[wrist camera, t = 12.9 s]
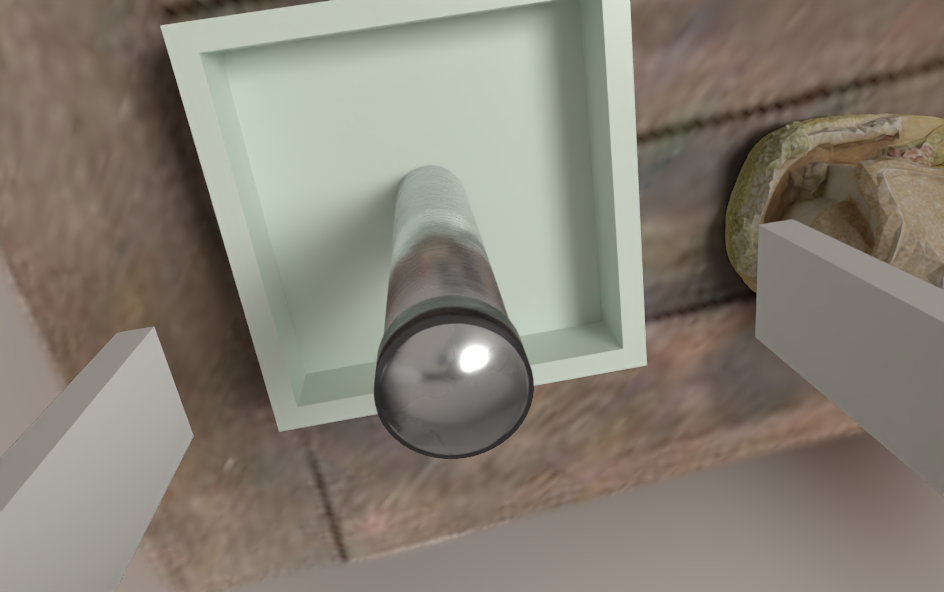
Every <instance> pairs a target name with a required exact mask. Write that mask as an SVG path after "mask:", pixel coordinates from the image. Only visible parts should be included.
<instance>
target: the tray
mask: <svg viewBox="0 0 944 592" xmlns="http://www.w3.org/2000/svg"><path fill="white" fill-rule="evenodd" d="M160 27H161V30H162V33H163V37H164V40H165V44H166V47H167V50H168V54H169V57H170V61H171V64H172V68H173V71H174V74H175V78H176V81H177V85H178V88H179V91H180V95H181V98H182V102H183V105H184V108H185V112H186V115H187V119H188V122H189V126H190V129H191V132H192V136H193V139H194V143H195V146H196V149H197V153H198V156H199V160H200V163H201V167H202V170H203V173H204V177H205V180H206V184H207V187H208V190H209V194H210V197H211V201H212V204H213V207H214V211H215V214H216V218H217V221H218V225H219V228H220V231H221V235H222V238H223V242H224V245H225V248H226V252H227V255H228V259H229V262H230V266H231V269H232V272H233V276H234V279H235V283H236V286H237V289H238V293H239V296H240V300H241V303H242V306H243V310H244V313H245V317H246V320H247V324H248V327H249V330H250V334H251V337H252V341H253V344H254V347H255V351H256V354H257V358H258V361H259V364H260V368H261V371H262V375H263V378H264V382H265V385H266V388H267V392H268V395H269V399H270V402H271V405H272V409H273V412H274V416H275V419H276V423H277V426H278V429H279V432H280V431H286V430H291V429H297V428H302V427H308V426H313V425H319V424H324V423H330V422H335V421H341V420H346V419H352V418H358V417H363V416H369V415H374V414H378V413H377V409H376V406H375V401H374V381H375V371H376V361H377V354H378V349H379V345H380V342H381V340H382V338H383V336H384V326H385V315H386V304H387V293H388V282H389V271H390V260H391V249H392V237H393V226H394V215H395V204H396V195H397V190H398V187H399V185H400V183H401V182H402V180H403V179H404V178H405V176H406V175H408V174H409V173H410V172H411V171H413V170H415V169H417V168H419V167H423V166H429V165H433V166H440V167H443V168H446V169H448V170H450V171H451V172H453V173H454V174H455V175H456V176H457V177H458V178H459V179H460V181H461V182H462V184H463V186H464V188H465V191H466V194H467V197H468V200H469V203H470V206H471V209H472V212H473V215H474V218H475V221H476V223H477V226H478V229H479V232H480V235H481V238H482V241H483V244H484V247H485V250H486V253H487V256H488V259H489V262H490V265H491V267H492V270H493V273H494V276H495V279H496V282H497V285H498V288H499V291H500V294H501V297H502V300H503V303H504V306H505V309H506V312H507V314H508V317H509V320H510V321H511V322H512V324H513V325H514V327H515V328H516V330H517V332H518V334H519V336H520V338H521V341H522V344H523V347H524V350H525V353H526V355H527V358H528V361H529V364H530V367H531V369H532V374H533V380H534V386H535V385H540V384H546V383H551V382H557V381H562V380H568V379H573V378H579V377H585V376H590V375H596V374H601V373H607V372H612V371H618V370H623V369H629V368H634V367H640V366H645V365H647V358H646V336H645V315H644V293H643V271H642V250H641V228H640V207H639V185H638V163H637V142H636V120H635V98H634V77H633V55H632V33H631V12H630V0H331V1H325V2H318V3H311V4H304V5H297V6H291V7H284V8H277V9H270V10H263V11H256V12H250V13H243V14H236V15H229V16H222V17H215V18H209V19H202V20H195V21H188V22H181V23H174V24H168V25H161V26H160Z"/></svg>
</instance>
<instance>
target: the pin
mask: <svg viewBox="0 0 944 592" xmlns="http://www.w3.org/2000/svg"><path fill="white" fill-rule="evenodd" d="M533 391H534V380H533V374H532V369H531V367H530V364H529V361H528V358H527V355H526V353H525V350H524V347H523V344H522V341H521V338H520V336H519V334H518V332H517V330H516V328H515V327H514V325H513V324H512V322H511V321H510V320H509V317H508V314H507V312H506V309H505V306H504V303H503V300H502V297H501V294H500V291H499V288H498V285H497V282H496V279H495V276H494V273H493V270H492V267H491V265H490V262H489V259H488V256H487V253H486V250H485V247H484V244H483V241H482V238H481V235H480V232H479V229H478V226H477V223H476V221H475V218H474V215H473V212H472V209H471V206H470V203H469V200H468V197H467V194H466V191H465V188H464V186H463V184H462V182H461V181H460V179H459V178H458V177H457V176H456V175H455V174H454V173H453V172H451V171H450V170H448V169H446V168H443V167H440V166H433V165H429V166H423V167H419V168H417V169H415V170H413V171H411V172H410V173H409V174H408V175H406V176H405V178H404V179H403V180H402V182H401V183H400V185H399V187H398V190H397V195H396V204H395V215H394V226H393V237H392V249H391V260H390V271H389V282H388V293H387V304H386V315H385V326H384V336H383V338H382V340H381V342H380V345H379V349H378V354H377V361H376V371H375V381H374V401H375V406H376V409H377V413H378V415H379V417H380V419H381V421H382V423H383V425H384V426H385V428H386V429H387V430H388V432H389V433H390V434H391V435H392V436H393V437H394V438H395V439H396V440H398V441H399V442H400V443H401V444H403V445H404V446H406V447H407V448H409V449H411V450H413V451H415V452H417V453H420V454H423V455H426V456H430V457H435V458H443V459H458V458H467V457H471V456H475V455H478V454H481V453H484V452H487V451H489V450H491V449H493V448H495V447H496V446H498V445H500V444H501V443H503V442H504V441H505V440H507V439H508V438H509V437H510V436H511V435H512V434H513V433H514V432H515V431H516V430H517V429H518V428H519V426H520V425H521V424H522V422H523V421H524V419H525V417H526V415H527V413H528V411H529V409H530V406H531V402H532V398H533Z"/></svg>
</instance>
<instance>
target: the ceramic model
mask: <svg viewBox="0 0 944 592" xmlns="http://www.w3.org/2000/svg"><path fill="white" fill-rule="evenodd" d="M790 219H793V220H796V221H798V222H800V223H802V224H804V225H806V226H808V227H811V228H813V229H815V230H817V231H819V232H821V233H823V234H825V235H828V236H830V237H832V238H834V239H836V240H838V241H840V242H842V243H845V244H847V245H849V246H851V247H853V248H855V249H857V250H860V251H862V252H864V253H866V254H868V255H870V256H872V257H874V258H877V259H879V260H881V261H883V262H885V263H887V264H889V265H892V266H894V267H896V268H898V269H900V270H902V271H904V272H906V273H909V274H911V275H913V276H915V277H917V278H919V279H921V280H923V281H926V282H928V283H930V284H932V285H934V286H936V287H938V288H941V289H943V290H944V119H943V118H938V117H931V116H917V115H900V114H888V113H883V114H876V115H874V114H862V115H852V114H848V115H839V116H825V117H821V118H812V119H808V120H803V121H794V122H791V123H789V124H786V125H785V126H784V127H781V128H779V129H777V130H775V131H773V132H771V133H769V134H768V135H766V136H764V137H763V138H762V139H761V140H760V141H759V142H758V143H757V144H755V145H754V147H753V148H752V149H751V151H750V152H749V154H748V156H747V159H746V160H745V162H744V164H743V166H742V168H741V171H740V173H739V176H738V178H737V181H736V184H735V186H734V188H733V191H732V193H731V196H730V200H729V203H728V206H727V211H726V221H725V225H726V227H725V241H726V250H727V253H728V257H729V260H730V263H731V264H732V266H733V267H734V268H735V271H736V272H737V273H738V274H739V275H740V276H741V278H742V279H743V281H744V283H745V284H746V285H747V286H748V287H749V288H750V289H751V290H752V291H754V292H756V293H757V267H758V236H759V225H760V224H766V223H772V222H778V221H784V220H790Z"/></svg>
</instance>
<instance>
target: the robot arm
mask: <svg viewBox="0 0 944 592" xmlns="http://www.w3.org/2000/svg"><path fill="white" fill-rule="evenodd" d="M755 337H756V338H757V339H758V340H759V341H761V342H762V343H763V344H764V345H765V346H767V347H768V348H769V349H770V350H771V351H772V352H774V353H775V354H776V355H777V356H778V357H780V358H781V359H782V360H783V361H784V362H785V363H787V364H788V365H789V366H790V367H791V368H793V369H794V370H795V371H796V372H797V373H798V374H800V375H801V376H802V377H803V378H804V379H806V380H807V381H808V382H809V383H810V384H811V385H813V386H814V387H815V388H816V389H817V390H819V391H820V392H821V393H822V394H823V395H824V396H826V397H827V398H828V399H829V400H830V401H832V402H833V403H834V404H835V405H836V406H837V407H839V408H840V409H841V410H842V411H843V412H845V413H846V414H847V415H848V416H849V417H850V418H852V419H853V420H854V421H855V422H856V423H858V424H859V425H860V426H861V427H862V428H863V429H865V430H866V431H867V432H868V433H869V434H871V435H872V436H873V437H874V438H875V439H876V440H878V441H879V442H880V443H881V444H882V445H884V446H885V447H886V448H887V449H888V450H889V451H891V452H892V453H893V454H894V455H896V456H897V457H898V458H899V459H900V460H901V461H902V462H904V463H905V464H906V465H907V466H908V467H910V468H911V469H912V470H913V471H914V472H915V473H917V474H918V475H919V476H920V477H922V479H924V480H925V481H926V482H927V483H929V484H930V485H931V486H932V487H933V488H934V489H936V490H937V491H938V492H939V493H940V494H941V495H943V496H944V290H943V289H941V288H938V287H936V286H934V285H932V284H930V283H928V282H926V281H923V280H921V279H919V278H917V277H915V276H913V275H911V274H909V273H906V272H904V271H902V270H900V269H898V268H896V267H894V266H892V265H889V264H887V263H885V262H883V261H881V260H879V259H877V258H874V257H872V256H870V255H868V254H866V253H864V252H862V251H860V250H857V249H855V248H853V247H851V246H849V245H847V244H845V243H842V242H840V241H838V240H836V239H834V238H832V237H830V236H828V235H825V234H823V233H821V232H819V231H817V230H815V229H813V228H811V227H808V226H806V225H804V224H802V223H800V222H798V221H796V220H793V219H790V220H784V221H778V222H772V223H766V224H760V225H759V236H758V267H757V298H756V330H755ZM192 438H193V433H192V430H191V428H190V425H189V422H188V419H187V416H186V414H185V411H184V408H183V405H182V403H181V400H180V397H179V394H178V391H177V389H176V386H175V383H174V380H173V378H172V375H171V372H170V369H169V366H168V364H167V361H166V358H165V355H164V353H163V350H162V347H161V344H160V341H159V339H158V336H157V333H156V330H155V328H154V327H148V328H142V329H136V330H130V331H124V332H118V333H116V334H115V335H114V337H113V338H112V339H111V340H110V341H109V342H108V343H107V344H106V345H105V346H104V347H103V348H102V349H101V350H100V352H99V353H98V354H97V355H96V356H95V357H94V358H93V359H92V360H91V361H90V362H89V363H88V364H87V365H86V367H85V368H84V369H83V370H82V371H81V372H80V373H79V374H78V375H77V376H76V377H75V378H74V379H73V380H72V382H71V383H70V384H69V385H68V386H67V387H66V388H65V389H64V390H63V391H62V392H61V393H60V395H58V397H57V398H56V399H55V400H54V401H53V402H52V403H51V404H50V405H49V406H48V407H47V408H46V410H44V412H43V413H42V414H41V415H40V416H39V417H38V418H37V419H36V420H35V421H34V422H33V423H32V424H31V426H30V427H29V428H28V429H27V430H26V431H25V432H24V433H23V434H22V435H21V436H20V437H19V438H18V439H17V440H16V442H15V443H14V444H13V445H12V446H11V447H10V448H9V449H8V450H7V451H6V452H5V453H4V455H2V457H1V458H0V592H115V591H116V589H117V587H118V585H119V583H120V581H121V579H122V577H123V575H124V573H125V571H126V569H127V567H128V565H129V563H130V561H131V559H132V557H133V555H134V553H135V551H136V549H137V547H138V545H139V543H140V541H141V539H142V537H143V535H144V533H145V531H146V529H147V527H148V525H149V524H150V522H151V520H152V518H153V516H154V514H155V512H156V510H157V508H158V506H159V504H160V502H161V500H162V498H163V496H164V494H165V492H166V490H167V488H168V486H169V484H170V482H171V480H172V478H173V476H174V474H175V472H176V470H177V468H178V466H179V464H180V462H181V460H182V458H183V456H184V454H185V452H186V450H187V448H188V446H189V444H190V442H191V440H192Z"/></svg>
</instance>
